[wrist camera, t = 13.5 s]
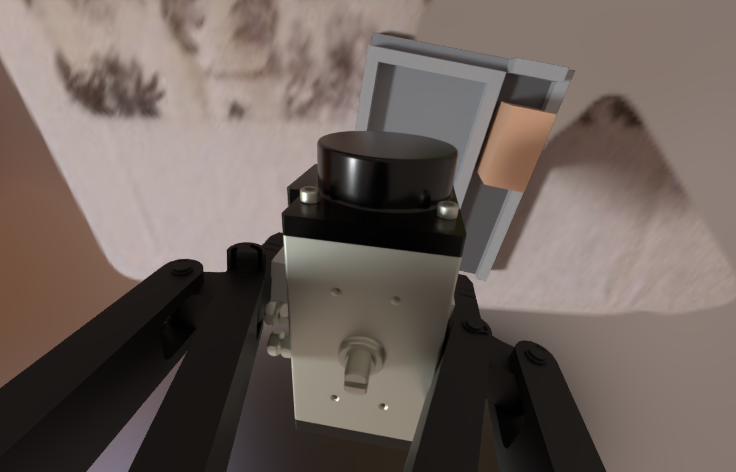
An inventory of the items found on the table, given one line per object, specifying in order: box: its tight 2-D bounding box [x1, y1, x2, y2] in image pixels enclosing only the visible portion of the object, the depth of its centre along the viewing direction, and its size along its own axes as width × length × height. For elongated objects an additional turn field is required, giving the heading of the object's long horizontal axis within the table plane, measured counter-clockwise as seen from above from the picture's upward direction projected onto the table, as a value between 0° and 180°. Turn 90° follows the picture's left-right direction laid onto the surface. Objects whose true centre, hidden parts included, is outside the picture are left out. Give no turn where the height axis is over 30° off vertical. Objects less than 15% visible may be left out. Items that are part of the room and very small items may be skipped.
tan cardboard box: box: [476, 101, 557, 193], centre depth 27 cm, size 6×3×4 cm, turn 170°
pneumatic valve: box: [264, 131, 467, 451], centre depth 14 cm, size 6×12×12 cm, turn 177°
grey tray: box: [355, 33, 575, 281], centre depth 30 cm, size 20×16×4 cm
